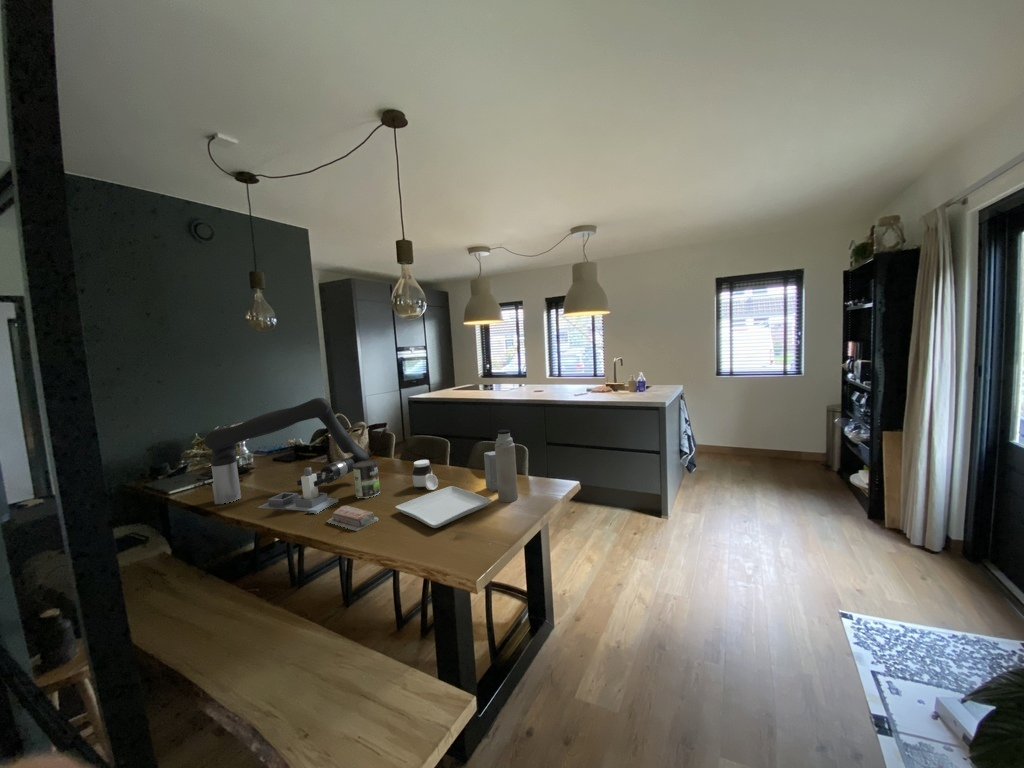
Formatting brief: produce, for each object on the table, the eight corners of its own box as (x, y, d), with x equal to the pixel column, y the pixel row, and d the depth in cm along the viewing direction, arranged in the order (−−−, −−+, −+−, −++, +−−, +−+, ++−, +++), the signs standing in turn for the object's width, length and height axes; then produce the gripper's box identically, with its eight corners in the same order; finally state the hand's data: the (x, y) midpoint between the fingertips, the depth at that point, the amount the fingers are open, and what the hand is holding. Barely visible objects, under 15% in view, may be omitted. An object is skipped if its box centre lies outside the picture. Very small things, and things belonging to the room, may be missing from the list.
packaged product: (378, 509, 150) (355, 519, 142) (379, 521, 151) (357, 533, 142) (348, 501, 160) (324, 511, 151) (349, 513, 160) (326, 523, 152)
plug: (304, 504, 167) (300, 469, 166) (311, 501, 171) (307, 466, 169) (312, 505, 166) (307, 469, 164) (319, 501, 170) (315, 466, 168)
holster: (257, 509, 169) (256, 501, 169) (285, 497, 182) (284, 489, 182) (283, 511, 165) (282, 503, 165) (309, 498, 178) (308, 491, 178)
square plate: (451, 493, 175) (451, 484, 174) (494, 508, 155) (493, 499, 155) (394, 514, 156) (393, 504, 156) (434, 535, 137) (433, 524, 136)
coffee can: (384, 490, 183) (381, 459, 182) (373, 498, 173) (369, 466, 172) (363, 490, 185) (360, 460, 183) (351, 498, 175) (347, 467, 173)
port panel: (285, 511, 165) (284, 500, 165) (308, 500, 177) (307, 490, 176) (317, 514, 160) (315, 503, 160) (338, 502, 172) (337, 491, 171)
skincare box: (491, 492, 172) (489, 455, 170) (485, 487, 178) (482, 452, 176) (509, 487, 175) (507, 452, 174) (502, 483, 182) (499, 448, 180)
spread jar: (419, 483, 190) (417, 458, 188) (442, 482, 188) (440, 458, 187) (409, 492, 178) (407, 466, 177) (434, 492, 176) (432, 466, 175)
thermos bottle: (505, 493, 169) (500, 427, 166) (521, 496, 165) (517, 428, 162) (494, 500, 162) (489, 432, 160) (511, 503, 158) (506, 433, 155)
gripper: (320, 462, 183) (291, 474, 168) (346, 463, 179) (319, 475, 163) (322, 478, 184) (293, 491, 168) (348, 479, 179) (321, 493, 164)
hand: (306, 483), depth 166 cm, fingers open, 8 cm apart
